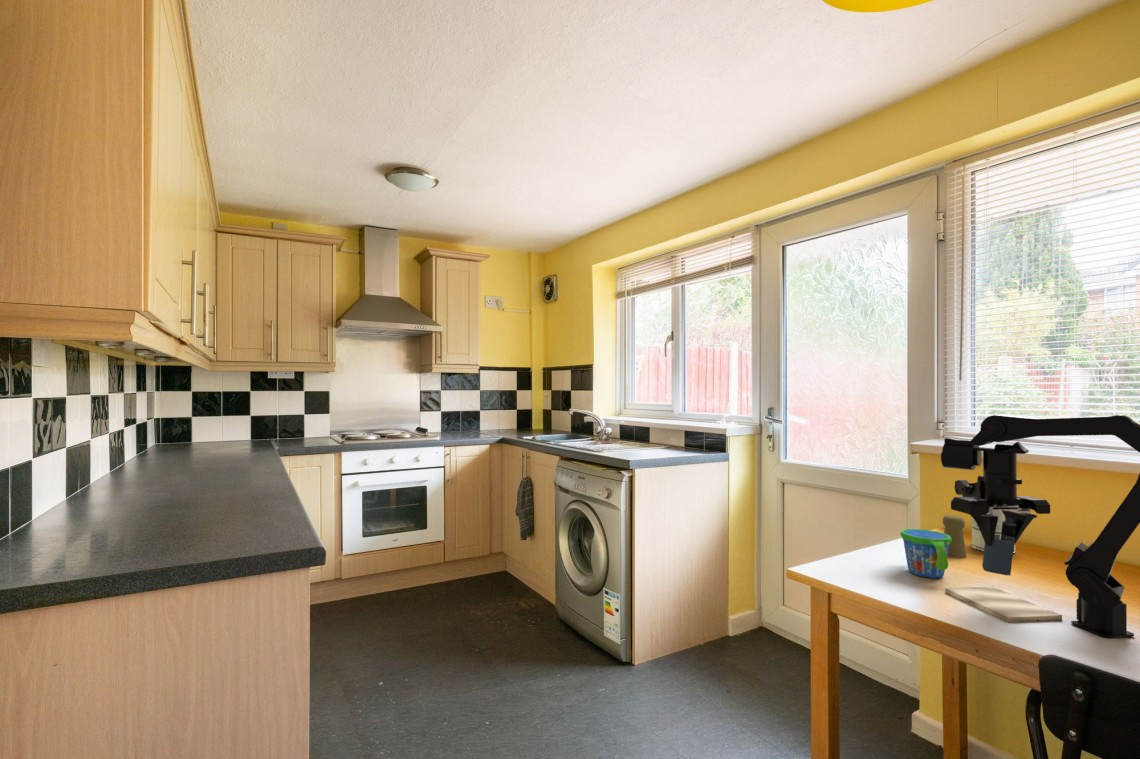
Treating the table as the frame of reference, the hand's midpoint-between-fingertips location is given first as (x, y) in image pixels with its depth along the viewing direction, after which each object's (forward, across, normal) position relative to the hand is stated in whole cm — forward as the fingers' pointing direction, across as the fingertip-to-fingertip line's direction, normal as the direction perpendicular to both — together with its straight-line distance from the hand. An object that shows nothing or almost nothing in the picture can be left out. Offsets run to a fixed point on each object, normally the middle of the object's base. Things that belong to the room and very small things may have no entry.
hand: (1000, 545), depth 118 cm
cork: (+13, -19, -34) cm, 41 cm away
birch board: (+13, 0, 0) cm, 13 cm away
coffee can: (+13, -35, -38) cm, 53 cm away
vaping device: (+6, +1, 0) cm, 6 cm away
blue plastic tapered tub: (+13, +1, -20) cm, 24 cm away
